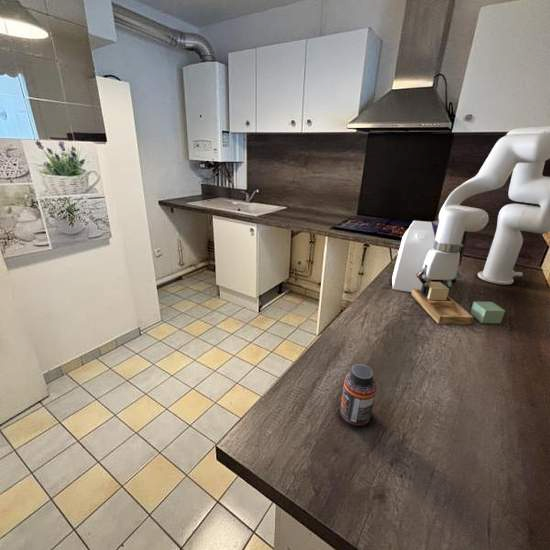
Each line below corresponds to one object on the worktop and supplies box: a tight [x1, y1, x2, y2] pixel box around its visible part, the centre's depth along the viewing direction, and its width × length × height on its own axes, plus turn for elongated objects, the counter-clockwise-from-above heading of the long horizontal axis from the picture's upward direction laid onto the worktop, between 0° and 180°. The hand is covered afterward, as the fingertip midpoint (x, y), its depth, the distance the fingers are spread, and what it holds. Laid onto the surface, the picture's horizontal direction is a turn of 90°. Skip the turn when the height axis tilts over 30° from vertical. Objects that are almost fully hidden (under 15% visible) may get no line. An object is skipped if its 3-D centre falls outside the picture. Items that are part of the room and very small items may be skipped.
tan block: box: [426, 282, 450, 301], centre depth 103 cm, size 6×6×4 cm
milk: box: [391, 220, 435, 293], centre depth 111 cm, size 12×12×26 cm
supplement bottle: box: [339, 363, 377, 427], centre depth 56 cm, size 6×6×11 cm
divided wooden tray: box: [410, 289, 475, 325], centre depth 99 cm, size 10×20×3 cm, turn 0°
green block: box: [469, 300, 506, 324], centre depth 94 cm, size 6×6×4 cm
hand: (433, 294), depth 103 cm, fingers closed on tan block, 6 cm apart
